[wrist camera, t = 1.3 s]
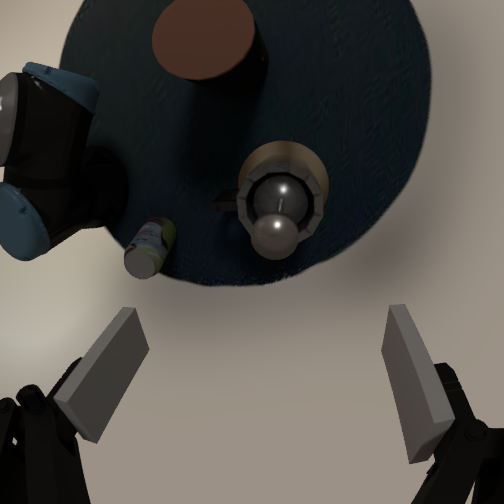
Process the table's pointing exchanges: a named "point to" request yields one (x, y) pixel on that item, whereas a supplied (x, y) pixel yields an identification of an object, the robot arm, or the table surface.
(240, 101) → the table surface
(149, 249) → the beverage can
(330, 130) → the table surface
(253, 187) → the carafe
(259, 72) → the coffee jar
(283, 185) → the plunger
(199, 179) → the table surface
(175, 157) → the table surface
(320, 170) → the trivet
